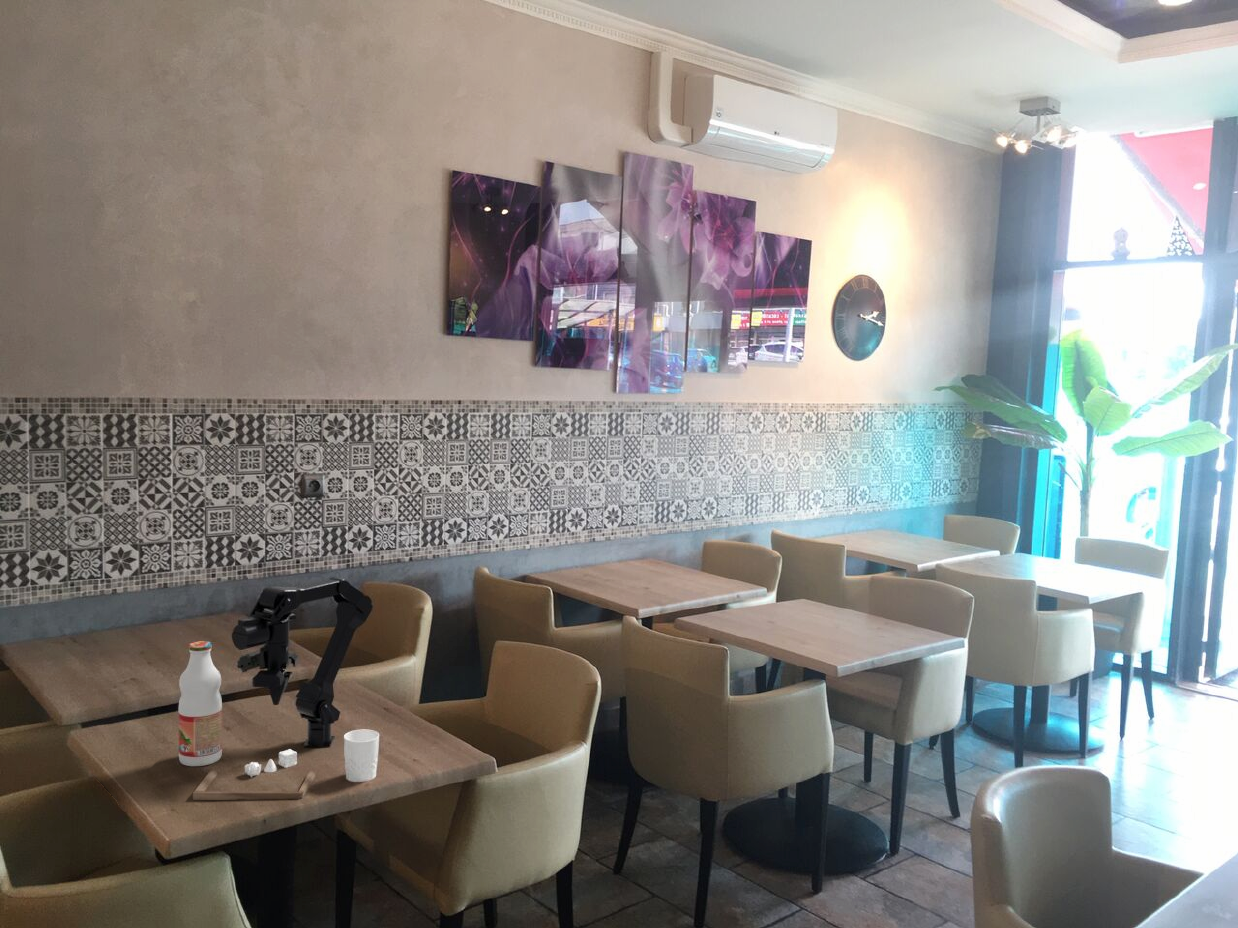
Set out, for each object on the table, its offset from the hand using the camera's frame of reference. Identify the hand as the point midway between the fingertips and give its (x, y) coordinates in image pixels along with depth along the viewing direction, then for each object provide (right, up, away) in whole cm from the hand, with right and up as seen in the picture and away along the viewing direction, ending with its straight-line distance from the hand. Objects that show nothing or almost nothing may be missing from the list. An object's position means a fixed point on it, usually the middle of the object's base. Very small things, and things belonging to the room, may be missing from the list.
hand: (276, 704), depth 238 cm
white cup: (+22, -15, -8) cm, 28 cm away
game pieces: (+1, -14, -6) cm, 15 cm away
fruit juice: (-17, -13, -2) cm, 22 cm away
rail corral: (+1, -15, -15) cm, 21 cm away
